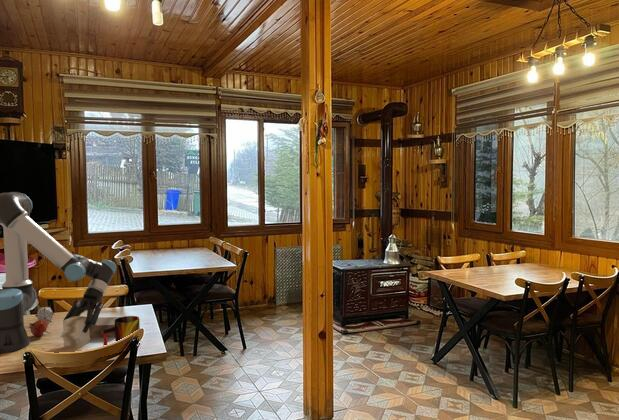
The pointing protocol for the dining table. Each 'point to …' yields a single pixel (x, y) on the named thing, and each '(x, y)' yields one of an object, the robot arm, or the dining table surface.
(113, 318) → the walnut block
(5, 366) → the dining table surface
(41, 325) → the pomegranate
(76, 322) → the maple block
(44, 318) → the game die
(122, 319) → the mug
